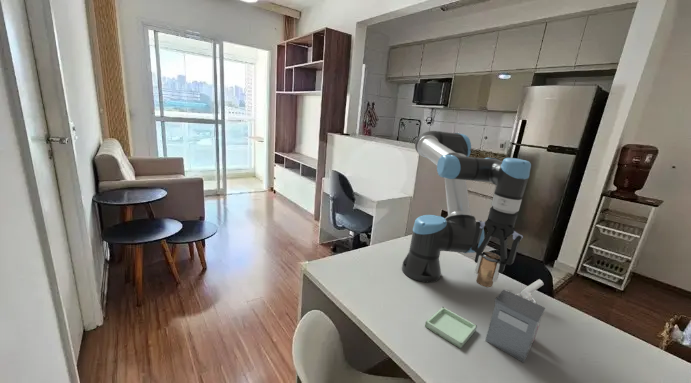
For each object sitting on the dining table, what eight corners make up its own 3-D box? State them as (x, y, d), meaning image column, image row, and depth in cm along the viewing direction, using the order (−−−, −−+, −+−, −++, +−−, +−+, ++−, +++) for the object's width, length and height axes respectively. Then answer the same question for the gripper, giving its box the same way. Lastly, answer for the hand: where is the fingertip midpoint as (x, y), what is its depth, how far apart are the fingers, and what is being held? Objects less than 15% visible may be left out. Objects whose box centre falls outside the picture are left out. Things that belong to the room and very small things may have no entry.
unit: (483, 340, 85) (495, 299, 81) (492, 328, 90) (503, 289, 86) (524, 364, 78) (539, 320, 74) (531, 349, 83) (545, 307, 79)
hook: (560, 299, 100) (550, 290, 98) (529, 318, 104) (519, 310, 101) (545, 283, 107) (535, 274, 104) (517, 301, 111) (507, 293, 108)
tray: (424, 326, 88) (425, 321, 87) (441, 311, 95) (442, 306, 95) (460, 348, 80) (461, 343, 80) (475, 330, 88) (477, 325, 88)
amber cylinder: (472, 281, 97) (480, 254, 94) (478, 276, 100) (485, 249, 98) (489, 289, 93) (497, 261, 90) (495, 283, 97) (503, 256, 94)
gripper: (470, 202, 93) (454, 267, 99) (534, 221, 81) (512, 294, 87) (479, 199, 98) (463, 261, 104) (540, 216, 86) (519, 285, 93)
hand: (486, 275), depth 96 cm, fingers closed on amber cylinder, 5 cm apart
